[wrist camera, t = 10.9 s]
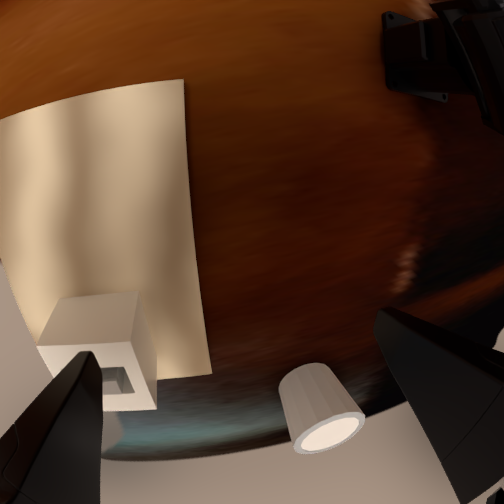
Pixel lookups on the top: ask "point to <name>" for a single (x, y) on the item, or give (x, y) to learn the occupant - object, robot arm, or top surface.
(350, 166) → the top surface
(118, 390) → the post
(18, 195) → the maple board
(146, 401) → the box
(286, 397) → the shot glass
